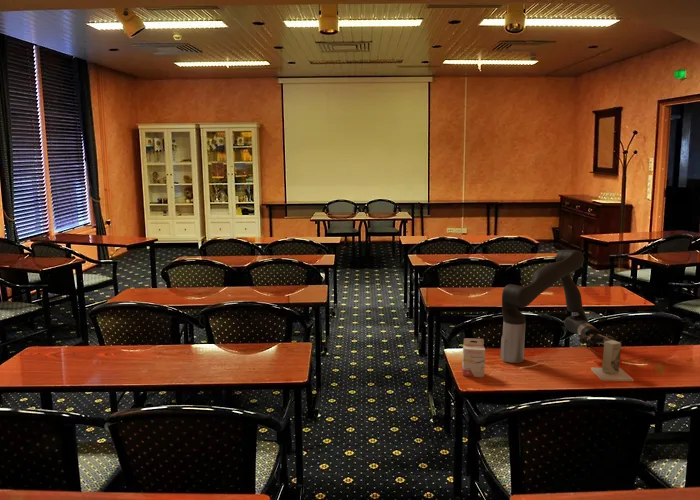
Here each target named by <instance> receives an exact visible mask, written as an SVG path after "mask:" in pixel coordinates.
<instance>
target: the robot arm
mask: <svg viewBox="0 0 700 500" xmlns="http://www.w3.org/2000/svg"><path fill="white" fill-rule="evenodd" d="M584 261H585V256H584V254H583V252H582V251H580V250H577V249H560V250H559V251H558V252H557V253H556V256H555V262H551V263H548V264H545V265H543V266H541V267H540V268H538V269H537V270H536V271H535V272H533V274H532V276H531V283H529V284H528V285H526V286H525V285H524V286H523V285H517V284H512V283H508V284H507V285H505V286H504V288H503V290H502V294H501V310H502V311H501V314H502V318H503V319H502V321H503V324H502V335H501V336H500V337H501V338H500V339H501V341H500V358H501V360H502V362H504V363H505V362H506V363H510V364H511V363H512V364H519V363H522V362H524V359H525V341H526V340H525V339H526V338H525V337H526V335H525V334H526V315H525V314H524V313H522V312H521V311H520V310H519V309H520V308H521V309H523V308H526V307H527V306H529V305H530V304H532V302H533V301H534V300H535V299H536V298H537V297H539V296H540V295H541V294H543V293H544V292H545V291H546V290H548V289H549V288H551V287H552V286H554V285H555V284H556V283H558V282H559V281H561V284H562V288H563V291H564V298H565V306H566V310H567V311H568V312H570V313H577V315H571V316H567V317H566V318H564V321H563V323H564V324H563V325H564V327H565V329H566V330H567V331H569V332H570V333H573V334H575V335H576V334H577V336H578V338H577V341H578V342H579V344H580V345H587V346H589V347H590V348H594V345H596V344H600V345H603V346H604V342H605V341H610V340H614V341H617V339H616V338H614V337H613V336H611V335H610V334H607V336H606V335H602V333H601V331H600V330H599V329H597V328H596V327H595V326H593V325H592V324H591V323H589V319H588V317H587V316H586V313H585V311H584V307H583V301H582V294H581V292H580V289H579V288H578V285H577V284H576V283H575V282H574V280H573V278H572V276H571V274H572V273H573V272H575V271H578V270H579V269H580V268H581V267H582V266H583V264H584ZM518 308H519V309H518Z"/></svg>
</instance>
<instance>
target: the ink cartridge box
mask: <svg viewBox="0 0 700 500" xmlns="http://www.w3.org/2000/svg"><path fill="white" fill-rule="evenodd" d="M484 342H485V340H484V338H471V337H470V338H468V337H467V338H463V345H462V364H461V373H462V376H463V377H475V378H476V377H478V378H484V377H485V365H486V348H485V346H484V344H485V343H484Z"/></svg>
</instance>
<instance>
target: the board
mask: <svg viewBox="0 0 700 500" xmlns="http://www.w3.org/2000/svg"><path fill="white" fill-rule="evenodd" d="M590 371H592V372H593V373H594V374H595V375H596V376H597V377H598V378H599V379H600V380H601V381H602V382H603V381H605V382H634V378H632V377H631V376H630V375H629V374H628V373H627V372H626V371H625V370H623V369H622V368H621V367H619V373H616V374H608V373H605V372H603V371H602V367H591V368H590Z"/></svg>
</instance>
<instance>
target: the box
mask: <svg viewBox="0 0 700 500" xmlns="http://www.w3.org/2000/svg"><path fill="white" fill-rule="evenodd" d="M603 342H604V341H603ZM621 349H622V342H620V341H617V340H615V341H614V340H610V341H605V342H604V345H603V354H602V363H601V364H602V367H601V368H602V371H603V372H605V373H608V374H616V373H619V368H620V361H621Z"/></svg>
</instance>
